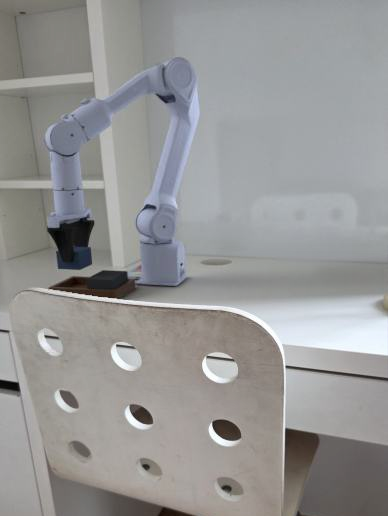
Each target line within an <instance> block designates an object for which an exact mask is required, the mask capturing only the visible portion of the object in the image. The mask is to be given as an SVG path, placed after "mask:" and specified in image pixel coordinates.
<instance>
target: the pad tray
mask: <svg viewBox="0 0 388 516" xmlns="http://www.w3.org/2000/svg"><path fill="white" fill-rule="evenodd" d="M89 277H90V276H81V275H80V276H79V275H76V276H75V275H71V276H69V277H68V278H66V279H64V280H61V281H59V282H57V283H55V284H53V285H50V286H49V287H48V290H49V289H53V290H60V291H66V292H72V293H78V294H85V295H92V296H98V297H108V298H117V299H119V300H121V299H122V298H123V297H125V296H127V295H128V294H129V293H131V292H133V291H134V290H135V289H136V281H135V280H136V279H128V281H127V282H126V283H124V284H122V285H121V286H119V287H117V288H116V289H114V290H103V289H87V280H86V279H87V278H89Z"/></svg>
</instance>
